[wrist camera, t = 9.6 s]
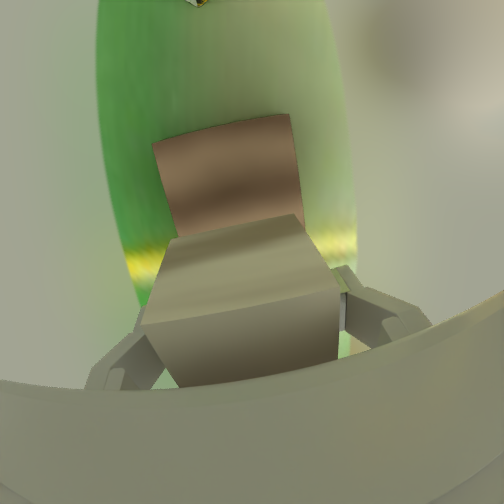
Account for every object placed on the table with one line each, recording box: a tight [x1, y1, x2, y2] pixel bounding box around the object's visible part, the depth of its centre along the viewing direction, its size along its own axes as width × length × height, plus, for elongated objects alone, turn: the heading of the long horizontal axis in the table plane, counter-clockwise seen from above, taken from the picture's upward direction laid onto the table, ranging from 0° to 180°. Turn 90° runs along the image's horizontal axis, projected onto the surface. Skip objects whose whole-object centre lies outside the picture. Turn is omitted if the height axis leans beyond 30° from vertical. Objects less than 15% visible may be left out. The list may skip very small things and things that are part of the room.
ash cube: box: [140, 213, 340, 388], centre depth 10 cm, size 5×5×5 cm
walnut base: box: [152, 114, 305, 237], centre depth 25 cm, size 12×12×3 cm
